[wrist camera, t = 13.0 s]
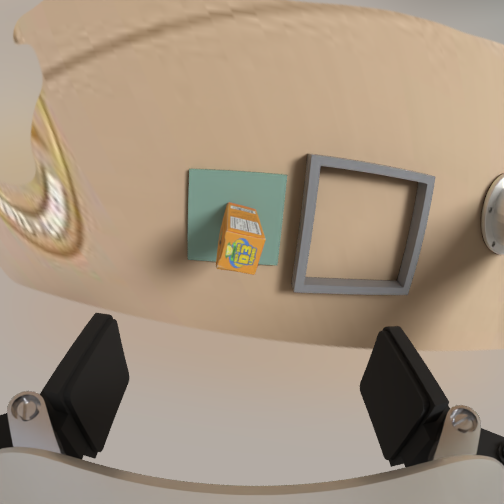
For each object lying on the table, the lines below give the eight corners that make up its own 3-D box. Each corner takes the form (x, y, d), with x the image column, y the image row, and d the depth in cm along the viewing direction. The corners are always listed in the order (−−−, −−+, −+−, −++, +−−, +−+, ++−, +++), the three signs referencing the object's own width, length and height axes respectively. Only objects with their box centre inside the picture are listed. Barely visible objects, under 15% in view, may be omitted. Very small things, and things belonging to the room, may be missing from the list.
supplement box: (251, 237, 33) (254, 279, 23) (220, 229, 32) (210, 269, 23) (259, 208, 31) (266, 239, 22) (227, 200, 31) (220, 228, 22)
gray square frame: (426, 174, 31) (435, 176, 29) (401, 287, 36) (407, 295, 34) (307, 153, 30) (311, 154, 28) (291, 283, 35) (293, 292, 33)
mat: (286, 174, 31) (287, 175, 30) (276, 263, 34) (277, 265, 34) (190, 168, 30) (189, 169, 30) (188, 257, 34) (187, 259, 33)
